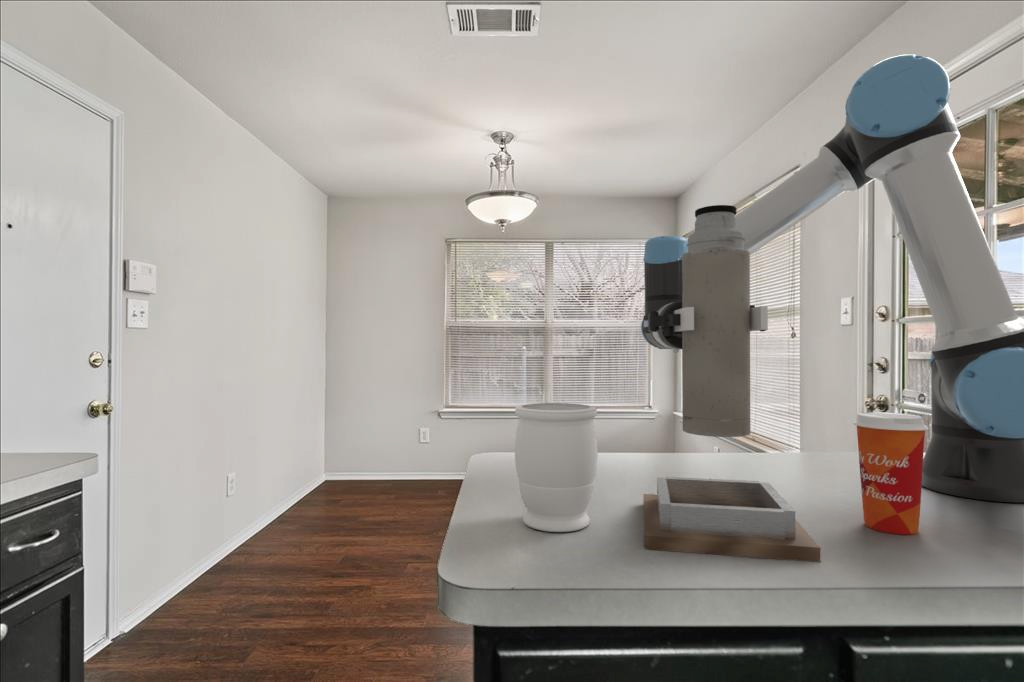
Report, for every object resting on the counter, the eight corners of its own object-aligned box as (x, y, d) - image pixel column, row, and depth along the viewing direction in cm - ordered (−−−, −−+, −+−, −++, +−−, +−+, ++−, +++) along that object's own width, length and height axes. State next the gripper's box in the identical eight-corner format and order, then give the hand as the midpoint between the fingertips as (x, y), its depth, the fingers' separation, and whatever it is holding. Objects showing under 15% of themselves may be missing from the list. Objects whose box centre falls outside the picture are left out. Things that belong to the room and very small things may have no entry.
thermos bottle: (677, 426, 74) (676, 216, 75) (739, 427, 74) (738, 214, 74) (689, 436, 66) (689, 201, 67) (759, 437, 66) (758, 199, 66)
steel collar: (767, 504, 75) (767, 481, 75) (797, 540, 61) (796, 512, 61) (656, 497, 78) (656, 476, 78) (660, 531, 64) (660, 504, 64)
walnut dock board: (779, 512, 76) (779, 501, 76) (820, 562, 59) (820, 547, 59) (643, 504, 80) (643, 493, 80) (644, 548, 63) (644, 535, 63)
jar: (604, 515, 75) (603, 403, 75) (589, 540, 65) (588, 412, 66) (528, 508, 79) (528, 401, 79) (503, 531, 69) (503, 409, 69)
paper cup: (840, 522, 72) (839, 413, 72) (880, 515, 75) (879, 410, 75) (904, 542, 65) (902, 420, 65) (945, 533, 68) (943, 417, 68)
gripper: (747, 348, 87) (818, 350, 65) (614, 349, 89) (638, 350, 66) (746, 300, 87) (817, 285, 65) (614, 302, 89) (637, 286, 66)
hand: (727, 318), depth 65 cm, fingers closed on thermos bottle, 8 cm apart
